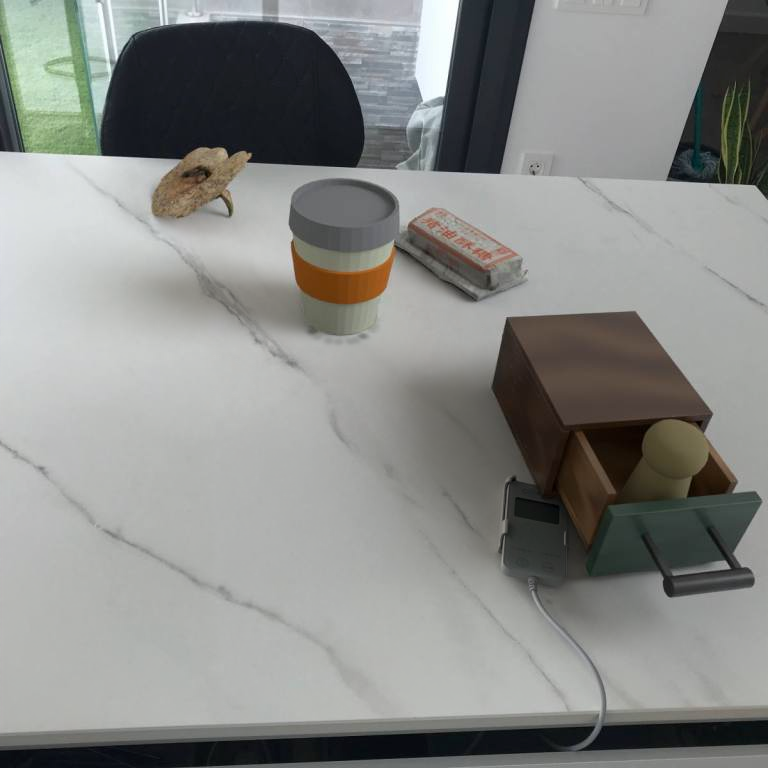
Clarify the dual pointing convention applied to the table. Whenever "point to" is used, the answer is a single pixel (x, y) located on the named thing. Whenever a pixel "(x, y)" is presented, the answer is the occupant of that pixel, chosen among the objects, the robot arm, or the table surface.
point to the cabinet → (584, 383)
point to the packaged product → (461, 254)
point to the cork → (666, 463)
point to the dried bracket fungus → (198, 182)
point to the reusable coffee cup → (342, 251)
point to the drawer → (654, 514)
